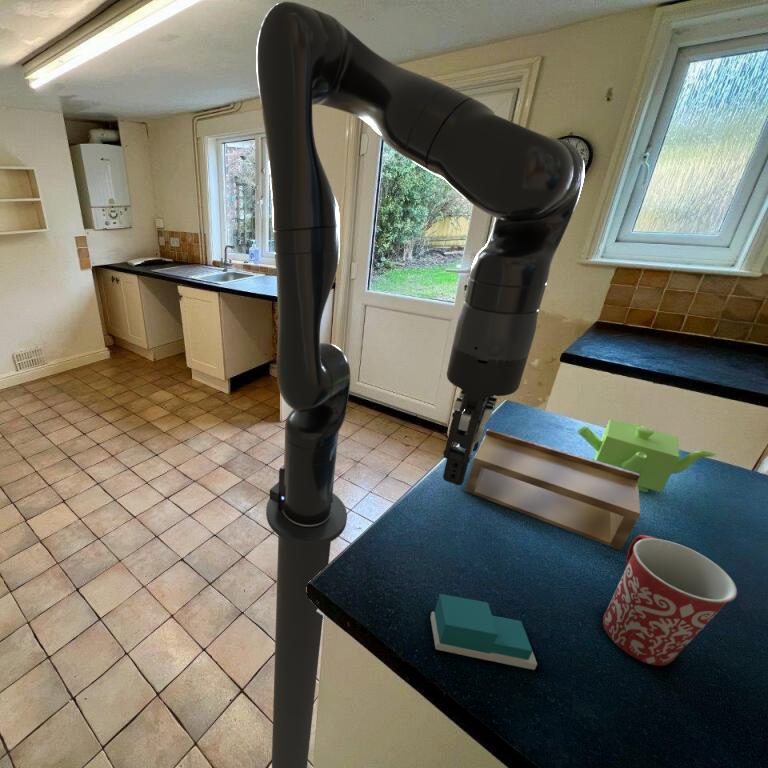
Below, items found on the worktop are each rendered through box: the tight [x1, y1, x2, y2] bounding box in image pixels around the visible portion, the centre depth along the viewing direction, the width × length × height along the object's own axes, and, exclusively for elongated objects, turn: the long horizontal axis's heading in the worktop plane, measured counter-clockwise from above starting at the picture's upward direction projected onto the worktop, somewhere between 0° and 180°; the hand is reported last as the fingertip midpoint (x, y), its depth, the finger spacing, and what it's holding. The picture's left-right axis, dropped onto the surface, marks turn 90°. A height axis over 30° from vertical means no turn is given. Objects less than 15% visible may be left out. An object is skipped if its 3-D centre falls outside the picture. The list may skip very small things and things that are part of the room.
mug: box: [602, 534, 738, 666], centre depth 53 cm, size 13×9×14 cm
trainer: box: [429, 593, 538, 671], centre depth 53 cm, size 12×5×5 cm, turn 77°
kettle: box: [577, 418, 718, 493], centre depth 83 cm, size 15×14×11 cm
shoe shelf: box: [464, 428, 641, 551], centre depth 76 cm, size 24×11×9 cm, turn 52°
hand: (460, 464), depth 53 cm, fingers open, 8 cm apart
